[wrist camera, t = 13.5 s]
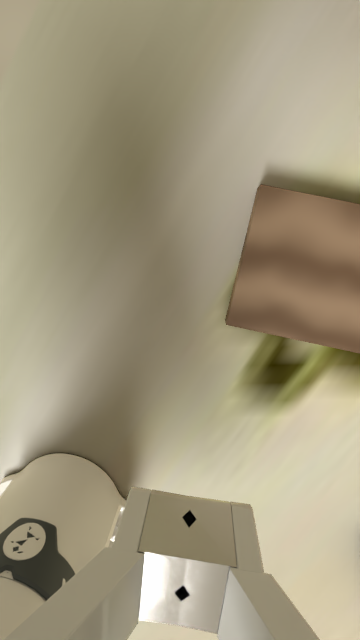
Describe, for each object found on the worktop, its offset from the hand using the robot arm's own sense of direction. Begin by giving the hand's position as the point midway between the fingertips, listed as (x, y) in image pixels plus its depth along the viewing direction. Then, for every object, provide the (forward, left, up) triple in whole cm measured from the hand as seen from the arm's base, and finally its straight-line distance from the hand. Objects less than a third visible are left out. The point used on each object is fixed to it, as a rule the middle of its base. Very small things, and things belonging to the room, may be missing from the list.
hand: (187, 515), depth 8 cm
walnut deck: (+6, -11, -27) cm, 30 cm away
